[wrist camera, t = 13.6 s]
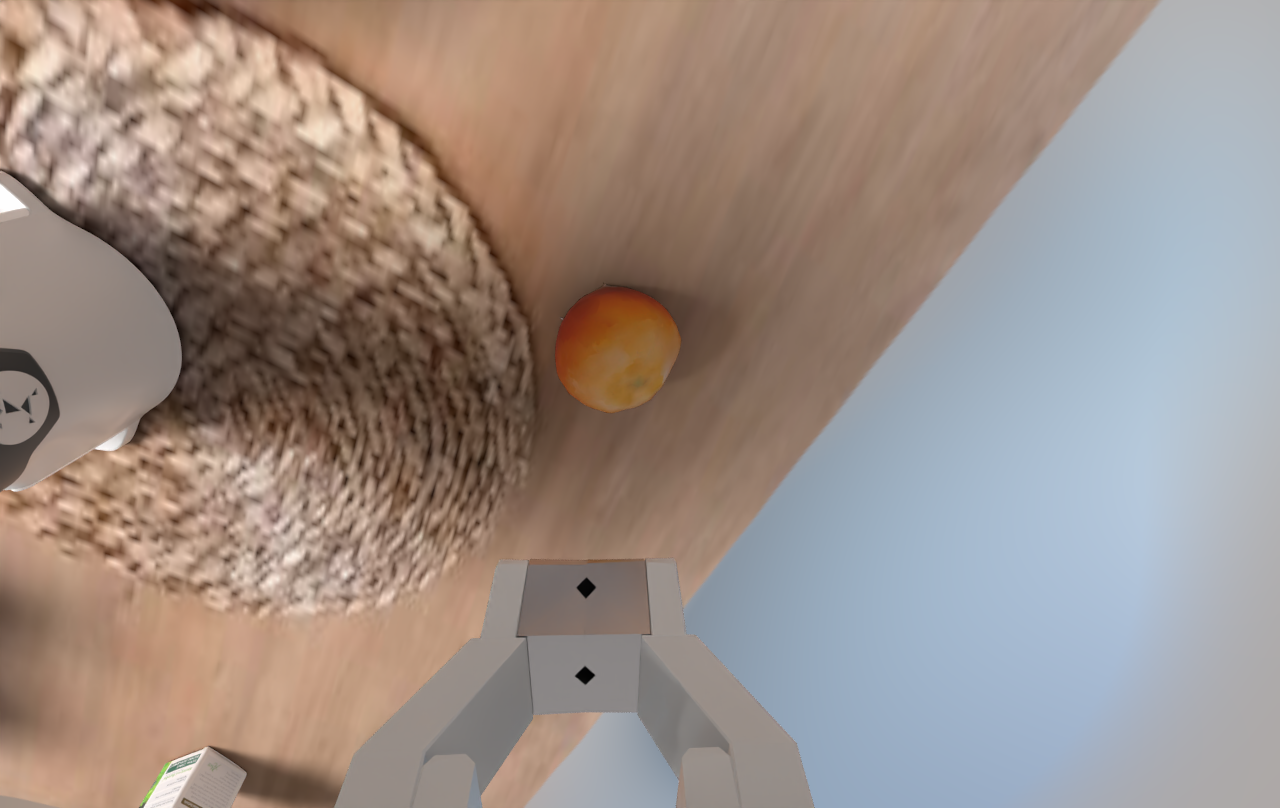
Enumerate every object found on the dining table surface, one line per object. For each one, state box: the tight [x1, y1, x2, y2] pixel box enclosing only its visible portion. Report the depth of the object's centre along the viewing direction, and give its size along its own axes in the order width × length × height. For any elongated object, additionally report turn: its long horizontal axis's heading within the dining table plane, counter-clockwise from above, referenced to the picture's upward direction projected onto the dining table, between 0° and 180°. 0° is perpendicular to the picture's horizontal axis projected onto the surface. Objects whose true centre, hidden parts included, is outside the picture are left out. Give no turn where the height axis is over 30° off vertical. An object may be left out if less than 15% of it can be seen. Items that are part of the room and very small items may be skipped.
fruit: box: [555, 284, 681, 413], centre depth 39 cm, size 8×8×8 cm
